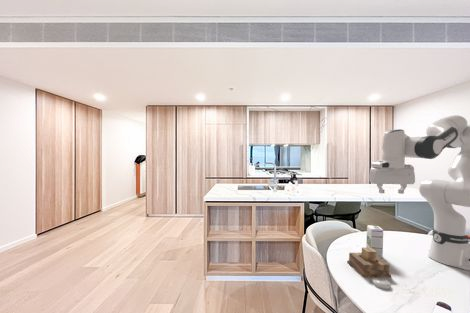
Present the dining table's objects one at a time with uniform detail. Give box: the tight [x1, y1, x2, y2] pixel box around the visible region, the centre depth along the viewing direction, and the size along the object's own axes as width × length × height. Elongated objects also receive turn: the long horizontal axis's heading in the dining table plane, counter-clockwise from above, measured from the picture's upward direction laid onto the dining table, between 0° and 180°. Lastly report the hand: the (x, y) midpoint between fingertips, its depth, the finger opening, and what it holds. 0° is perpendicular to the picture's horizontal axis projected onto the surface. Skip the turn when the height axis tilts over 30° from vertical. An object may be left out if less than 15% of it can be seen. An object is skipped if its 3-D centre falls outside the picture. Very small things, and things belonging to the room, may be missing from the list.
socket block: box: [347, 252, 392, 278], centre depth 98 cm, size 12×12×5 cm
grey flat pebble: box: [371, 277, 391, 290], centre depth 87 cm, size 6×6×2 cm
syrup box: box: [365, 224, 384, 259], centre depth 112 cm, size 6×6×14 cm
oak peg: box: [361, 247, 377, 262], centre depth 98 cm, size 4×4×8 cm
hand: (391, 193), depth 104 cm, fingers open, 8 cm apart
